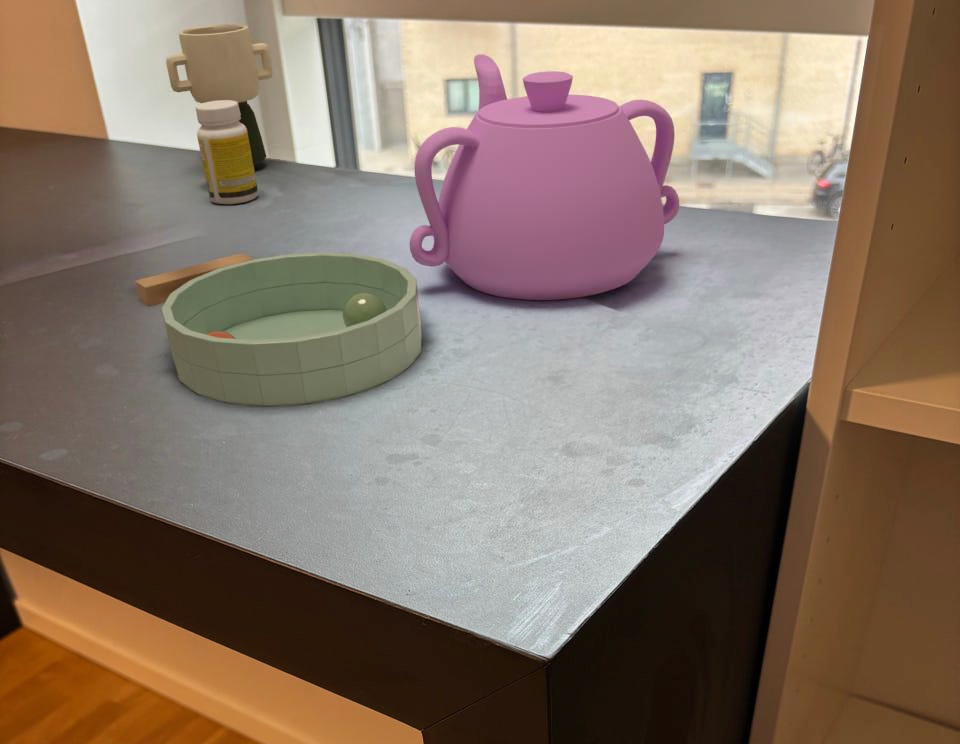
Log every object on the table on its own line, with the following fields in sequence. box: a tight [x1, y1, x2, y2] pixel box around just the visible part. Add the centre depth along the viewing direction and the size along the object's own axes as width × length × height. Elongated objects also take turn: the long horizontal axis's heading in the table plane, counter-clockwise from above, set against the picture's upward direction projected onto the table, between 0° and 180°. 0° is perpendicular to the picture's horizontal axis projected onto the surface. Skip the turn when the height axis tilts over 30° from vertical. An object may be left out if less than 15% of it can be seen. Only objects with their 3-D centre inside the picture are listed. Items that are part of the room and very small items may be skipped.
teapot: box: [409, 53, 680, 301], centre depth 76 cm, size 22×22×14 cm
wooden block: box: [134, 252, 255, 307], centre depth 78 cm, size 9×2×2 cm, turn 127°
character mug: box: [165, 23, 273, 167], centre depth 106 cm, size 11×7×13 cm, turn 119°
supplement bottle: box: [195, 100, 259, 205], centre depth 98 cm, size 5×5×8 cm
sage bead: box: [343, 292, 387, 327], centre depth 68 cm, size 3×3×3 cm
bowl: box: [160, 251, 423, 407], centre depth 67 cm, size 16×16×4 cm
